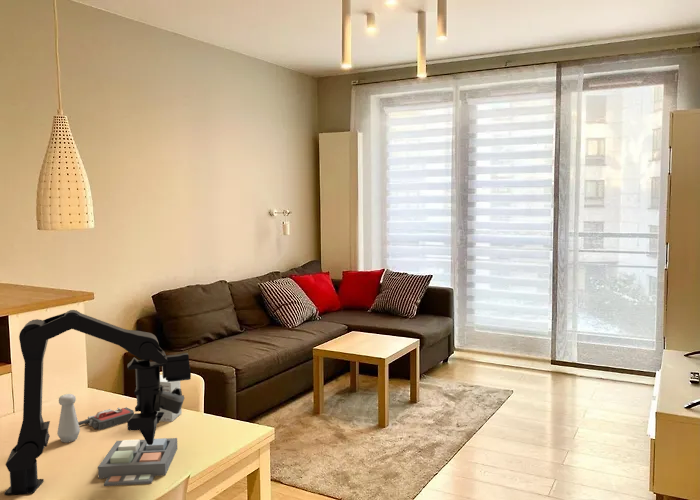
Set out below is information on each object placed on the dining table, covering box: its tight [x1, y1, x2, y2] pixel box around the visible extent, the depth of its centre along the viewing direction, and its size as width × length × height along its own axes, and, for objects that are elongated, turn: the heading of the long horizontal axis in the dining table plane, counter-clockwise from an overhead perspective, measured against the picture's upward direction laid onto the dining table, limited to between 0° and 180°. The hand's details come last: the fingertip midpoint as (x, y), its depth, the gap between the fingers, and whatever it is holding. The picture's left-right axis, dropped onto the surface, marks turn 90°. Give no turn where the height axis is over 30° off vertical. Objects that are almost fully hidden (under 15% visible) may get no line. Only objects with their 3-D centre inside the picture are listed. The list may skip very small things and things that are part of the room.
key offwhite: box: [118, 439, 141, 451], centre depth 158 cm, size 4×4×2 cm
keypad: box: [97, 437, 178, 487], centre depth 153 cm, size 20×16×3 cm
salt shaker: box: [56, 393, 81, 444], centre depth 170 cm, size 6×6×13 cm
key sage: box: [110, 450, 133, 464], centre depth 151 cm, size 4×4×2 cm
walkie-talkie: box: [78, 406, 135, 431], centre depth 182 cm, size 9×4×20 cm
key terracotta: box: [139, 452, 161, 462], centre depth 152 cm, size 4×4×2 cm
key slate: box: [146, 437, 167, 451], centre depth 159 cm, size 4×4×2 cm
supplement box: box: [158, 374, 182, 423], centre depth 188 cm, size 7×7×13 cm
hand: (150, 444), depth 152 cm, fingers closed
